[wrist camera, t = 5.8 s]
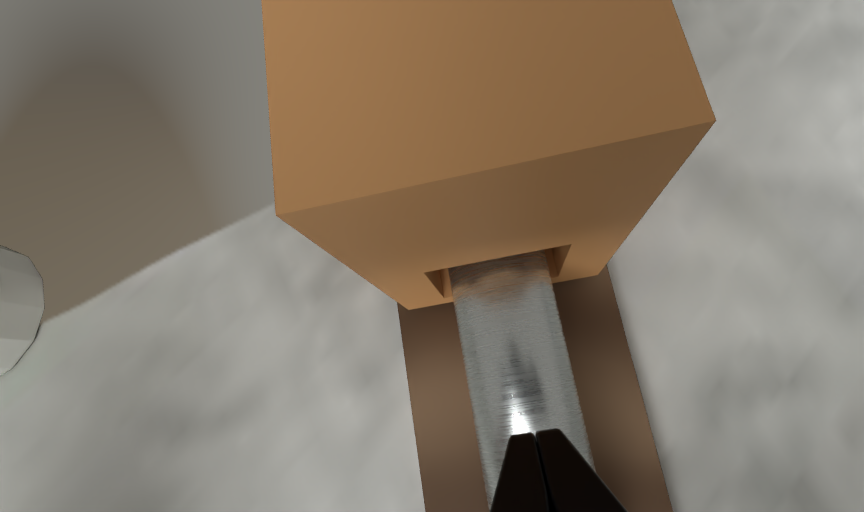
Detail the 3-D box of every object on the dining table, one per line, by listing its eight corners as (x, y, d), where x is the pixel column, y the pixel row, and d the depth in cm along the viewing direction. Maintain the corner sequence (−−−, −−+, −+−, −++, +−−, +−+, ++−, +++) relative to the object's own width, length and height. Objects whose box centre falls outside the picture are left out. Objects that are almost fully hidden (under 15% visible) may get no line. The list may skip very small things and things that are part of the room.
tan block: (597, 274, 17) (715, 120, 7) (408, 310, 18) (275, 215, 8) (565, 151, 19) (625, -123, 9) (391, 189, 19) (259, -22, 9)
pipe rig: (684, 580, 16) (786, 698, 10) (444, 606, 17) (406, 730, 11) (558, 107, 21) (576, -4, 15) (380, 147, 22) (330, 58, 16)
